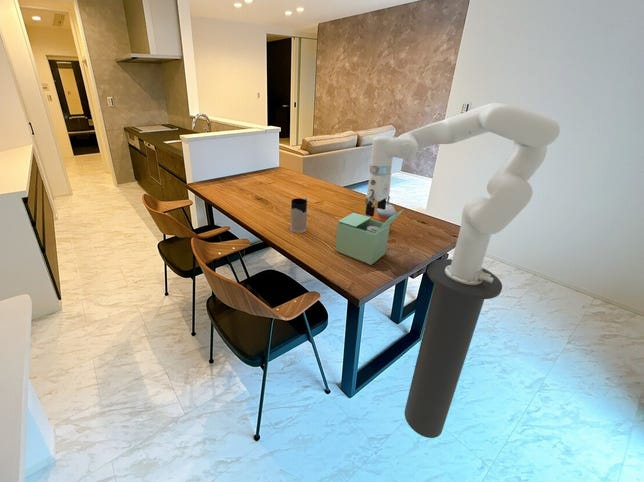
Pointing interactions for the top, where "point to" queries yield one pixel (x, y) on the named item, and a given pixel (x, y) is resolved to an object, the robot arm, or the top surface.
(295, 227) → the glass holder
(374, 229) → the beverage can
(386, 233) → the carton
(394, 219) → the flap
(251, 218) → the top surface
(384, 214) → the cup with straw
